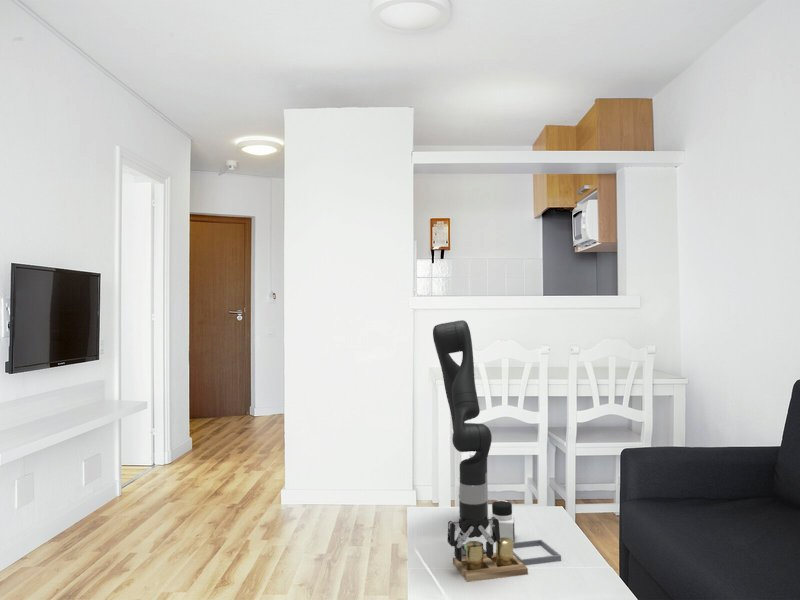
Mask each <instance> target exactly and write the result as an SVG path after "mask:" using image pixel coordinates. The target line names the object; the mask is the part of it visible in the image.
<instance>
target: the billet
mask: <svg viewBox="0 0 800 600" xmlns="http://www.w3.org/2000/svg"><path fill="white" fill-rule="evenodd" d="M465 544H466V569H467V571H469V570H478V569H484V568H483V549H484V543H483V542H481V541H478V540H470V541H467V542H465Z"/></svg>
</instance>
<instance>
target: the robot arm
mask: <svg viewBox="0 0 800 600" xmlns="http://www.w3.org/2000/svg"><path fill="white" fill-rule="evenodd" d="M432 338H433V343H434V347H435V350H436V353H437V357H438V360H439V364H440V368H441V372H442V380H443V384H444V390H445V394H446V399H447V403H448V408H449V411H450V412H449V413H450V415H451V417H450V418H451V422H452V438H451V439H452V444H453V447H454V448H455V450H456V451H458V452H460V453H467V452H468V453H469V452H475V453H474V455H473V456H471V457H469V458H466V459H463V460H461V461H460V462H459V487H458V488H459V490H458V499H459V503H458V504H459V505H458V506H459V508H458V509H459V511H458V512H459V519H458V521H454V522H453V521H452V520H449V521H448V522H447V523H448V524H447V543H448V544H449V545H450V547H454V557H455V558H456V559H457V560H458V561H459V562H460V561H462V550H461V545H462V544H464V542H465V543H466V541H467V539H468V538H469V539H473V538H475V537H476V538H481V536H483V537H484V538H485V540H486V542H485V551H486V556H487V557H488V558H491V557H492V556H493V553H494V543H496V541H500V531H499V521H498V520H497V519H496V518H495V517H492V518H491V517H490V518H489V497H488V496H489V494H488V493H489V491H488V490H489V489H488V486H489V485H488V484H489V483H488V457H489V452H490V450H491V445H492V441H493V440H492V439H493V437H492V432H491V430H490V428H489V427H488V426H487V425H485V423H475V422H474V423H473V422H467V421H469V420H473V419H475V418H478V416H479V415H480V411H481V410H480V405H479V399H478V398H479V397H478V395H477V388H476V382H475V381H476V380H475V378H476V377H475V365H474V364H475V363H474V362H475V361H474V353H473V341H472V334H471V330H470V327H469V325H468V323H467V321H466V320H464V319H463V320H456V321H449V322H444V323H439V324H435V326H433V329H432ZM460 352H462V358H461V364H460V365H459V364H458V363H457V362H456V361H455V360H454V359H453V357H452V356H451V355H450V354H454V353H460ZM490 525H491V526H492V534H493V536H491V537H490V533H488V531H487V530H486V529H488V527H489V526H490ZM458 528H459V529H460V530H459V531H458V533H457V537H456V531H457V529H458Z"/></svg>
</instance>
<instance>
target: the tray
mask: <svg viewBox="0 0 800 600" xmlns="http://www.w3.org/2000/svg"><path fill="white" fill-rule="evenodd" d="M535 546H536V547H538V546H540V547H542V548H543V549H544V550H545V551H546V552H548V553H549V554H550V555H547V556H537V557H530V558H521V557H520V556H519V555H518V554H516V552H515V551H513V555H514V556H515V557H516V558H517V559H518V560H520V561H521V562H522V563H523V564H524V565H525V566H529V565H537V564H538V565H539V564H546V563H547V564H548V563H555V562H562V555H561V554H560V553H559V552H557V551H556V550H555V549H554V548H552V546H550V545H549V544H548V543H546V542H545V541H544V540H543V539H535V540H534V539H533V540H527V541H526V540H525V541H524V540H523V541H516V542H515V541H514V543H513V549H520V548H530V547H535Z"/></svg>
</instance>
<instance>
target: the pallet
mask: <svg viewBox="0 0 800 600" xmlns="http://www.w3.org/2000/svg"><path fill="white" fill-rule="evenodd" d="M452 564H453V565H454V567H455V568H456V569H457V570H458V572H459V573H460V574H461V576H462V577H463V578H464V580H465V581H466V582H467V583H468V582H476V581H484V580H493V579H500V578H501V579H503V578H508V577H516V576H523V575H529V571H528V570H529V568H528V567H527V565H524V564H523V563H522V562H521V561H520V560H518V559H517V558H516V557H515V556H514V555H513V565H510V566H502V567H497V566H496V552H493V556H492V557H491V558H488V557H487V556H486V554H483V568H484V569H478V570H469V571H467V569H466V556H462V561H460V562H459V561H458V560H457V559H456V558H455V556H454V557H452Z"/></svg>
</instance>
